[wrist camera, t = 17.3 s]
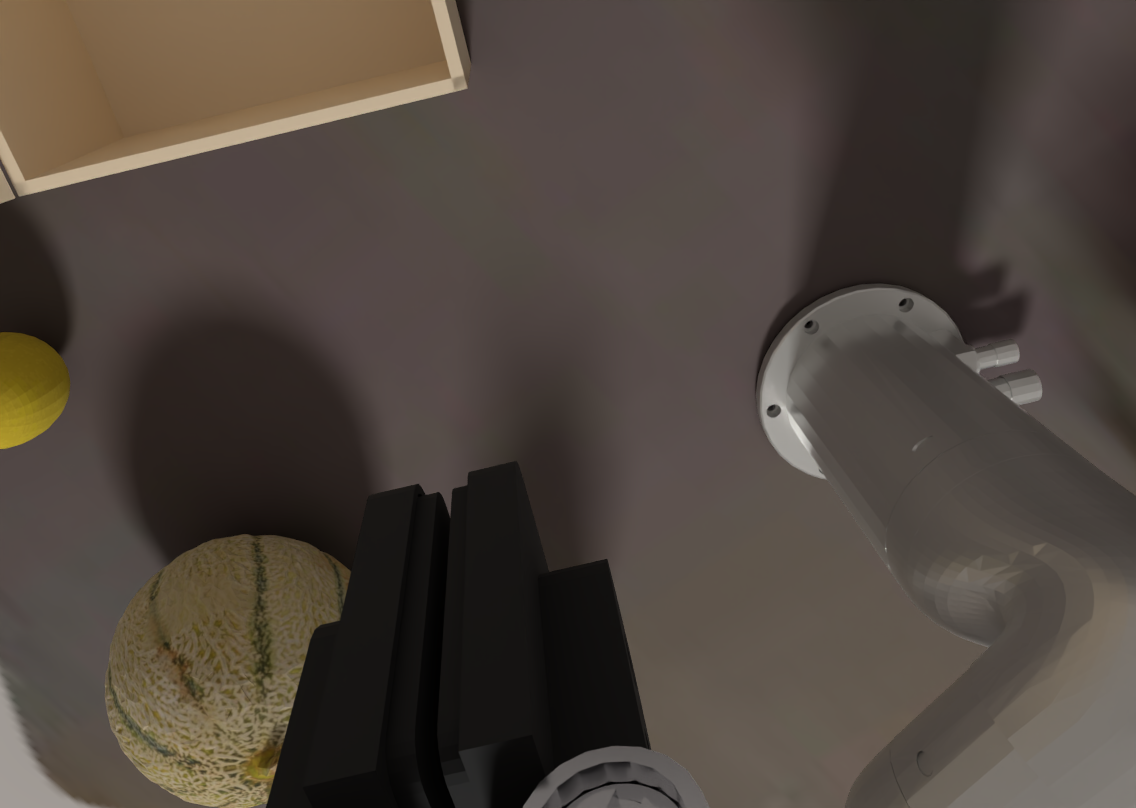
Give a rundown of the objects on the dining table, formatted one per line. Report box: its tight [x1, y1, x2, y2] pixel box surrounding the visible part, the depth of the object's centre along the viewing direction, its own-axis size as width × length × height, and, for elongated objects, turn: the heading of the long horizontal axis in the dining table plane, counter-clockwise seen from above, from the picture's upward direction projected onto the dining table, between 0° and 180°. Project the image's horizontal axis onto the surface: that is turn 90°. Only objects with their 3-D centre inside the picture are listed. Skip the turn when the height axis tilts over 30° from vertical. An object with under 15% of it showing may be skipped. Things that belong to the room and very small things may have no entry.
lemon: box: [0, 332, 70, 449], centre depth 45 cm, size 6×6×8 cm
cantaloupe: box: [105, 534, 351, 808], centre depth 50 cm, size 15×15×15 cm
